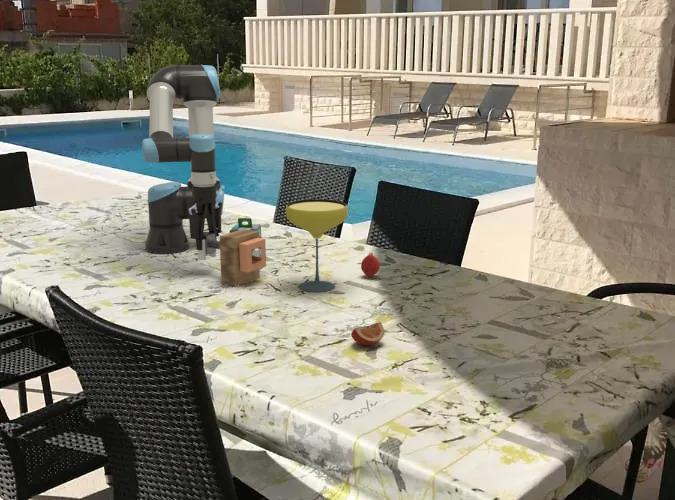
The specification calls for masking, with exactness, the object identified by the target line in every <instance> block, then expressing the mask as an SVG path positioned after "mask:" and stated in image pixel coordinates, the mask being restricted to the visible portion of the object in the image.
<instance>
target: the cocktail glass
mask: <svg viewBox="0 0 675 500" xmlns="http://www.w3.org/2000/svg"><path fill="white" fill-rule="evenodd" d="M348 213H349V211H348V205H347V204H346V203H345V202H343V201H339V200H333V199H321V198H320V199H318V198H317V199H315V198H313V199H303V200H295V201H291V202H289V203H287V204H286V207H285V215H286V219H287V220H288V221H289V222H290V223H292V224H293V225H295V226H296V227H298V228H301V229H302V230H304V231H307V232H308V233H309V234H310V235H311V237H312V239H313V238H314V239H315V275H314V276H315V278H314V280H308V281H304V282H301V283H300V284H299V286H298V287H299V290H302V291H305V292H309V293H323V292H324V293H325V292H330V291H332V290H334V289H336V284H335V283H333V282H331V281H326V280H321V279H320V275H319V272H320V271H319V239H321V238H322V237H323V235H324V234H325V233H326V232H328V231H329V230H331V229H333V228H336V227H338V226H339V225H340V224H342V223H343V222H344V221H345V220H346V219H347V218H348Z"/></svg>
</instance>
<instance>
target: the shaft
mask: <svg viewBox="0 0 675 500" xmlns="http://www.w3.org/2000/svg"><path fill="white" fill-rule="evenodd" d="M203 240H205V252H206V255H208V254H210V253H214V252H216V253H217V250H219V251H220V240H217V241H216V239H215V233H211V232H209V231H204V233H203ZM262 255H263V250H262V249H258V248H256V249H253V250H252V256H256V257H262Z"/></svg>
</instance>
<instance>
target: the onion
mask: <svg viewBox="0 0 675 500" xmlns="http://www.w3.org/2000/svg"><path fill="white" fill-rule="evenodd" d="M373 253H374V252H372V251H369V253H368V255H367V256H365V257H364V258H363V259H362V261H361V265H360V268H361V271H362V273H363V274H364V275H366V276H367V277H368V278H372V277H374V276H375V275H376V274H378V272H379V270H380V266H381V265H380V260H378V258H377V257H376V256H375V255H374V254H373Z"/></svg>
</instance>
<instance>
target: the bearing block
mask: <svg viewBox="0 0 675 500" xmlns="http://www.w3.org/2000/svg"><path fill="white" fill-rule="evenodd" d="M255 238H259V231H253V230H247V229H242V230H239V231H235V232H231V233H230V232H229V233H228V232H227V233H225V234H221V235H219V241H220V250H219V256H220V282H221V284H222V283H225V284H224V285H226V284H229V285H228V286H231V285H234V286H233V287H235V286H237V287H239V286H238V285H240V286H242V285H245V284H247V283H246V282H248V283H250V282H249V281H251V280H253V281H255V279H256V280H258V279H257V278H259V279H260V278H261V274H260V273H261V271H260V269H261V268H259V269H257V270H254V271H251V272H248V273H247V272H243V271H240V251H239V243H243V242H246V241H249V240H252V239H255ZM252 260H254V256H252ZM251 282H252V281H251ZM244 283H245V284H244ZM241 284H242V285H241Z"/></svg>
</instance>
